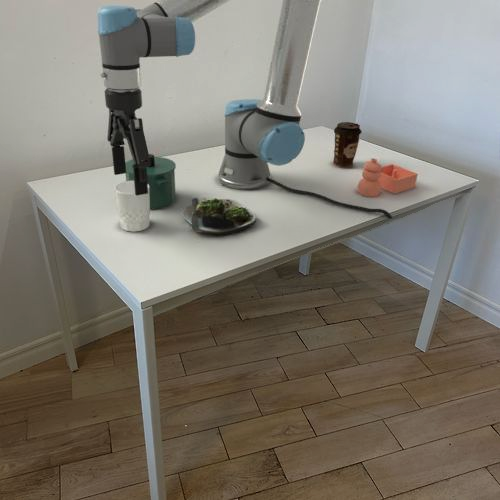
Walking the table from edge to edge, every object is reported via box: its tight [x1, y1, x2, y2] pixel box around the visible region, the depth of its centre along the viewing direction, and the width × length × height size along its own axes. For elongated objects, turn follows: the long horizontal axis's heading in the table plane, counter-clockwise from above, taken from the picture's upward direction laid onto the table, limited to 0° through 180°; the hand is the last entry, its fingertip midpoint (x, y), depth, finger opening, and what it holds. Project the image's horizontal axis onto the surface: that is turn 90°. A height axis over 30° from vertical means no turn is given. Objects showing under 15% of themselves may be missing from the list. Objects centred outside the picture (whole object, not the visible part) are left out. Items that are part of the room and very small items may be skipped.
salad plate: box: [181, 197, 257, 238], centre depth 124 cm, size 19×18×5 cm
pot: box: [124, 170, 177, 210], centre depth 132 cm, size 12×18×9 cm
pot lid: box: [125, 153, 177, 177], centre depth 129 cm, size 13×13×4 cm
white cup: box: [114, 180, 151, 233], centre depth 118 cm, size 8×8×10 cm
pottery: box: [357, 158, 419, 198], centre depth 143 cm, size 18×10×10 cm, turn 126°
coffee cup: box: [332, 121, 362, 169], centre depth 158 cm, size 9×8×13 cm
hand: (130, 183), depth 115 cm, fingers open, 13 cm apart
